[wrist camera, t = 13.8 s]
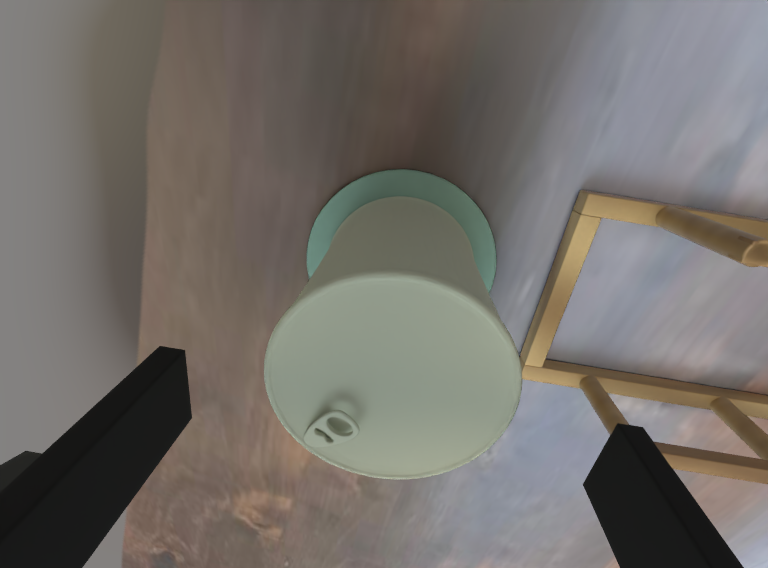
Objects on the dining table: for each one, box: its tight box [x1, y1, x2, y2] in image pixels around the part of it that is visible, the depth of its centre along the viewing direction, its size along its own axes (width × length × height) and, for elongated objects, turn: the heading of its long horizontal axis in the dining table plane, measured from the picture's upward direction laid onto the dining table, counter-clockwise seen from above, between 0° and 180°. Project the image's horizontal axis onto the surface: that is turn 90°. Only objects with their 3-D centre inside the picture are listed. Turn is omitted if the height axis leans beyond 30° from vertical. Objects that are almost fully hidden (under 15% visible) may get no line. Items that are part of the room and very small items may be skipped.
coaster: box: [307, 169, 496, 293], centre depth 24 cm, size 12×12×1 cm
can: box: [264, 196, 522, 479], centre depth 18 cm, size 9×9×12 cm
